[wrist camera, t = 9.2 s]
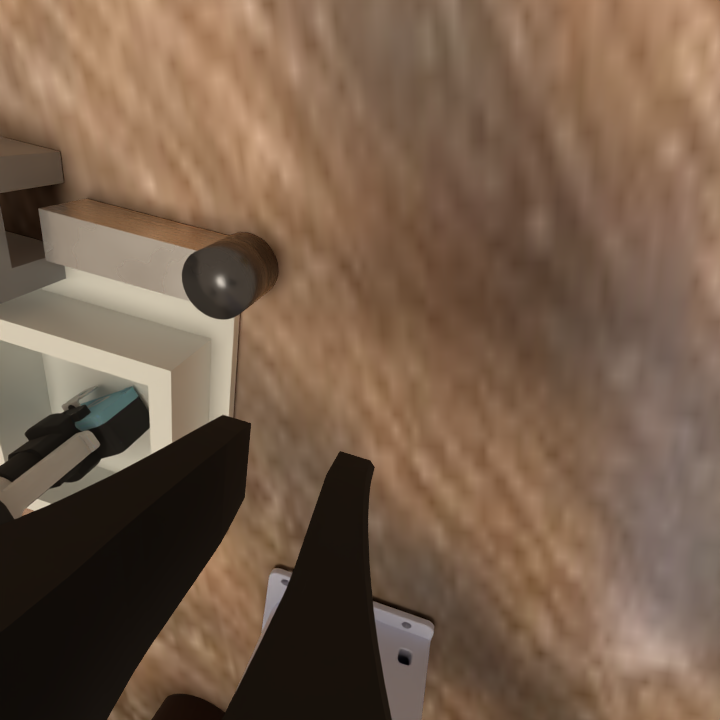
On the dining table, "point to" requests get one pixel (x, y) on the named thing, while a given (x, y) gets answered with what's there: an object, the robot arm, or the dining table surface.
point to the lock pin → (160, 255)
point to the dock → (98, 341)
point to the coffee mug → (187, 709)
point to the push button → (69, 446)
